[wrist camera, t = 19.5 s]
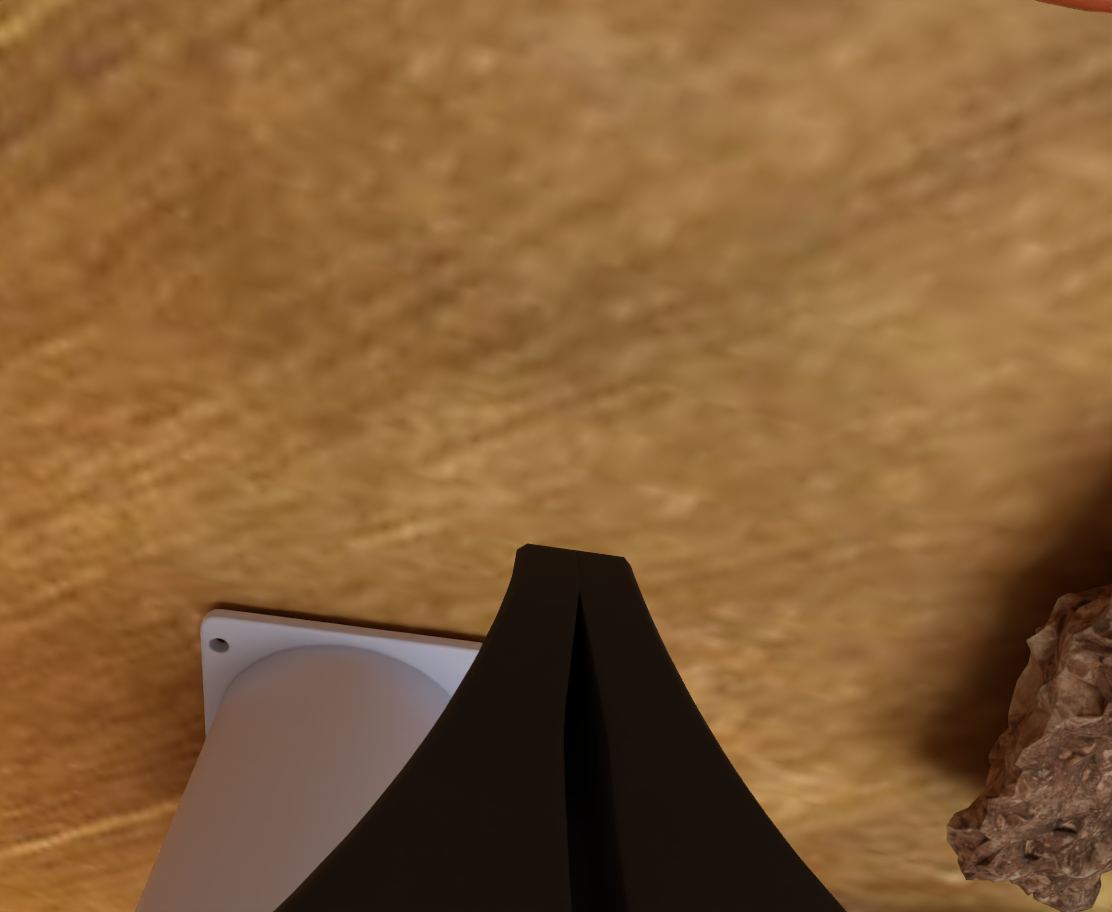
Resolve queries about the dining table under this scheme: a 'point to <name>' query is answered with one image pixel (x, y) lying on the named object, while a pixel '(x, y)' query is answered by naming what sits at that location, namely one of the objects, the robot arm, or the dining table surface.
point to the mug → (1083, 4)
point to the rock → (1051, 766)
